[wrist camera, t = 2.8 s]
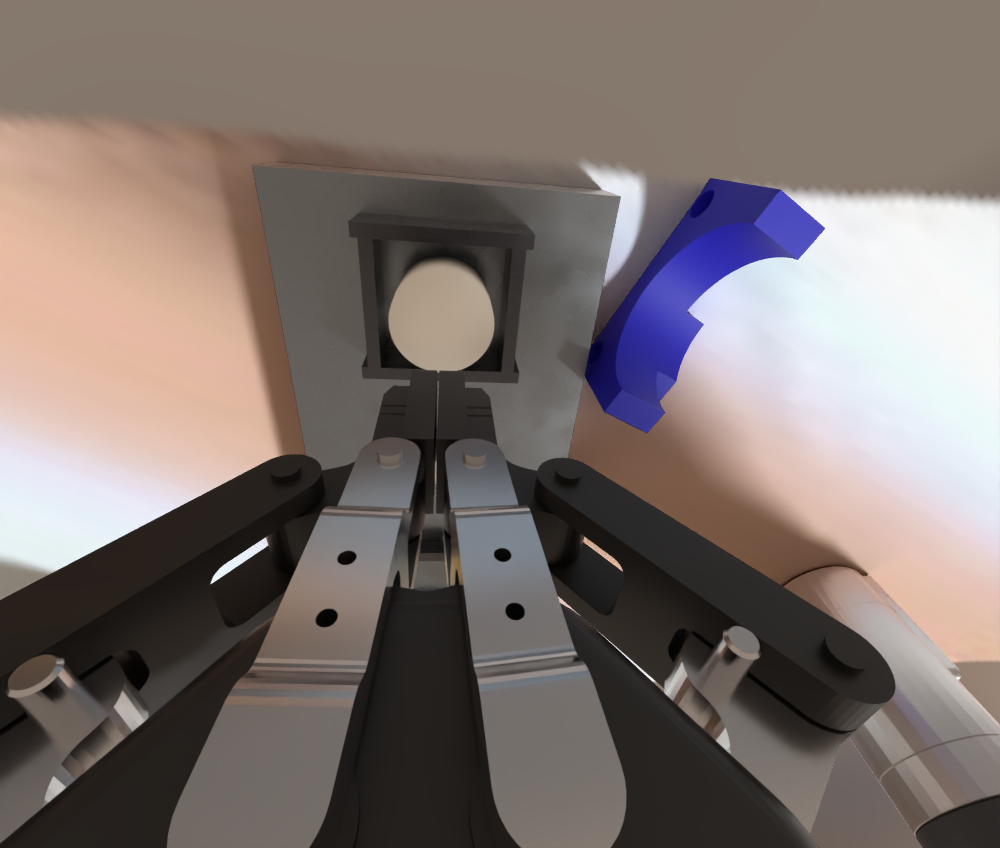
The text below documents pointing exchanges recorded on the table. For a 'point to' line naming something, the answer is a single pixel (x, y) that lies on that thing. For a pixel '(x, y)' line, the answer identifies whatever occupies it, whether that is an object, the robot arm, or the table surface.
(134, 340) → the table surface
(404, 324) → the button
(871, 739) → the robot arm
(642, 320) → the cable clip
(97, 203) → the table surface
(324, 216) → the panel
